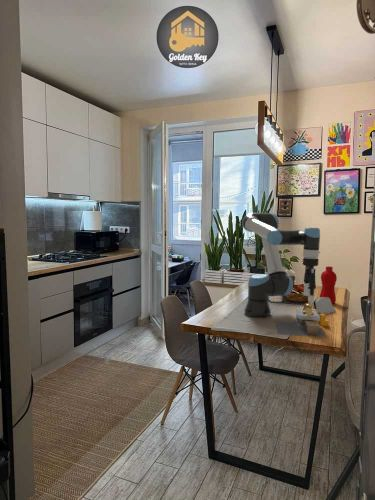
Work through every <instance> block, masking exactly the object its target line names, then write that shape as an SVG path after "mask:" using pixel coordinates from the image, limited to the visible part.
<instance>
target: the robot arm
mask: <svg viewBox="0 0 375 500" xmlns="http://www.w3.org/2000/svg"><path fill="white" fill-rule="evenodd" d="M279 224H280V221H279V218H278V216H277V215H276V214H275V213H270V212H250V213H247V214H246V215H245V216H244V217H243V218H242V221H241V225H242V227H243V229H244V230H245V231H247V232H249V233H254V234H256V235H258V236H259V237H261V242H262V246H263V250H264V252H263V253H264V256H265V262H266V264H267V266H266V267H267V270H268V273H267V274H266V273H257V274H253V275H250V276H249V278H248V283H247V285H248V286H247V287H248V288H247V289H248V291H247V302H246V305H245V308H244V315H245V316H248V317H252V318H263V319H265V318H267V317H270V316H271V315H272V312H271V308H270V304H269V297H284V296H288V295H290V294H291V292H292V291H293V287H294V280H293V278H292V277H291V276H290V275H288V274H287V271H286V270H284V267H283V264H282V260H281V256H280V251H279V247H278V246H283V245H284V246H285V245H289V246H290V245H292V246H293V245H296V246H297V245H299V246H303V248H302V249H303V251H302V256H303V258H302V265H303V266H305V268H304V275H303V283H304V285H303V296H306V297H307V302H308V303H309V302H310V303H312V302H314V300H315V290H316V288H317V285H316V268H314V267H318V266H319V256H320V255H319V254H321V252H320V251H319V250H320V243H321V242H320V240H321V230H320V228H318V227H305V228H304V230H300V229H296V230H281V229H279V227H280V226H279Z"/></svg>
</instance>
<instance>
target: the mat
mask: <svg viewBox="0 0 375 500" xmlns="http://www.w3.org/2000/svg"><path fill="white" fill-rule="evenodd" d="M274 323H275V326H276V330H277V333H278V335H286V336H287V335H288V336H302V337H313V338H315V337H317V338H327V336H326V334H324V332H323V330H322V329H321V328H320V330H318V336H314V335H307V334H306V329H299V328H298V326H297V324H296V321H289V320H274Z"/></svg>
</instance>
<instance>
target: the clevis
mask: <svg viewBox="0 0 375 500" xmlns="http://www.w3.org/2000/svg"><path fill="white" fill-rule="evenodd" d="M295 311H296V312H295V315H296V316H295V322H296V324H297V326H298V328H299V329H306V334H307V335H314V336H318V330H320V329H321V327H320V325H319V324H318V323H317V320H318V321H320V316H319V313H317V312H316V311H312V315H306V309H305V310H303V309H296V310H295Z"/></svg>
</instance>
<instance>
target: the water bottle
mask: <svg viewBox="0 0 375 500" xmlns="http://www.w3.org/2000/svg"><path fill="white" fill-rule="evenodd" d="M333 268H334V267H333V266H325V270H324V271H322V273H321V275H320V281H321V290H320V293H319V298H321V297H327V298H330V300H331V303H332V305H334V304H335V303H336V302H337V300H336V299H337V297H336V291H335V286H336V283H337V280H338V276H337V273H336V272H334V271H333V270H334V269H333Z"/></svg>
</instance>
